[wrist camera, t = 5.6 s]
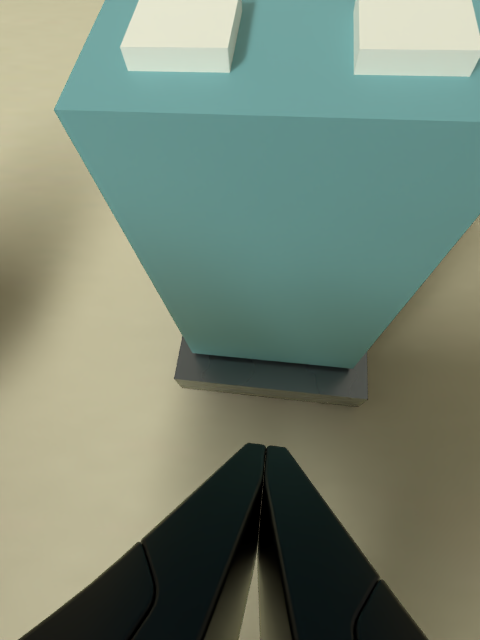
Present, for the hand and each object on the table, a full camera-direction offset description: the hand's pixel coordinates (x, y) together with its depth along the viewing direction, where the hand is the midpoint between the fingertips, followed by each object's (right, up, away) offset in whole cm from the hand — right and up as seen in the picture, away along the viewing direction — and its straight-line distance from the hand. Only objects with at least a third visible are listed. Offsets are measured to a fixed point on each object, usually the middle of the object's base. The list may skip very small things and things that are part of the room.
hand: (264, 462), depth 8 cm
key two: (+1, +3, +6) cm, 7 cm away
